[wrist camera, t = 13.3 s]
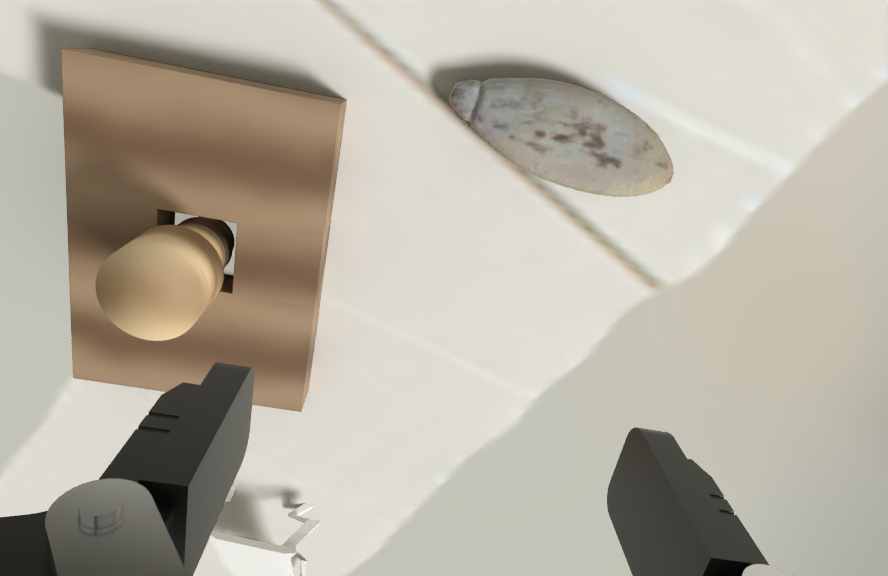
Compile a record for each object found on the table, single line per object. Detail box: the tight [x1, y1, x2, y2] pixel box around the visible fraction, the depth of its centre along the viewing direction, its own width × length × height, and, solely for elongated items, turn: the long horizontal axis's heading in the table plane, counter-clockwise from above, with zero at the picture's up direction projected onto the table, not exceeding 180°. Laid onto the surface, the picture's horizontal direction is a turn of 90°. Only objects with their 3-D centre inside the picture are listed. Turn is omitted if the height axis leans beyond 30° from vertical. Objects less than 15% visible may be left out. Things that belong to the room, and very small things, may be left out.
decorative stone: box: [448, 78, 673, 197], centre depth 39 cm, size 6×16×3 cm, turn 72°
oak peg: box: [95, 216, 234, 341], centre depth 37 cm, size 6×6×10 cm
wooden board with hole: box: [61, 48, 347, 412], centre depth 41 cm, size 22×16×3 cm
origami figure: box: [209, 485, 321, 576], centre depth 49 cm, size 12×8×5 cm
